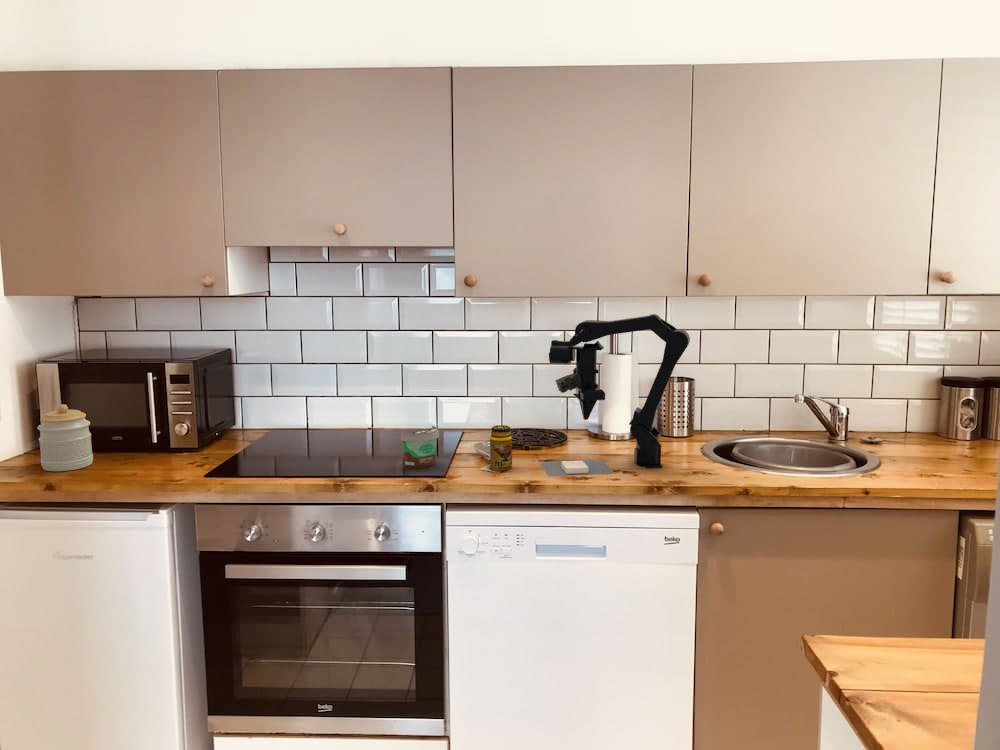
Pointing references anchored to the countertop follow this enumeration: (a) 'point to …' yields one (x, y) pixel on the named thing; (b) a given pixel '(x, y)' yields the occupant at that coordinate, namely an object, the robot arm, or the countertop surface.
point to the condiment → (500, 449)
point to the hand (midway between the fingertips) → (585, 419)
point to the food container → (420, 448)
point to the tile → (574, 467)
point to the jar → (65, 440)
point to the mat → (593, 468)
